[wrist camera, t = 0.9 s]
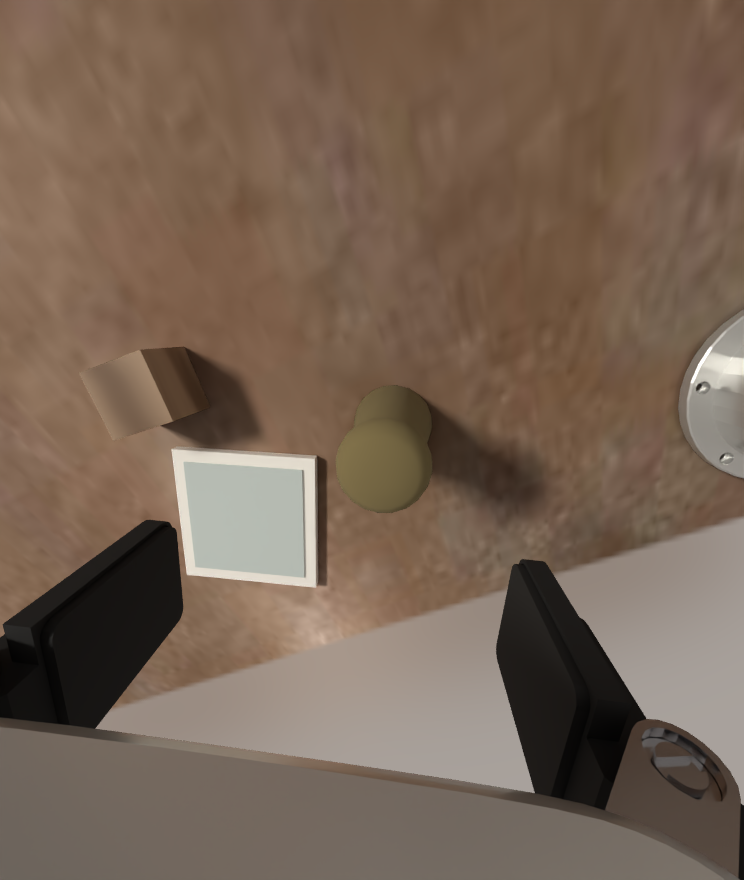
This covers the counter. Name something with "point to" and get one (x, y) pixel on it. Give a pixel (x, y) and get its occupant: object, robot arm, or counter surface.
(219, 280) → the counter surface
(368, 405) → the olive rounded tall piece
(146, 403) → the walnut block
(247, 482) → the plate
